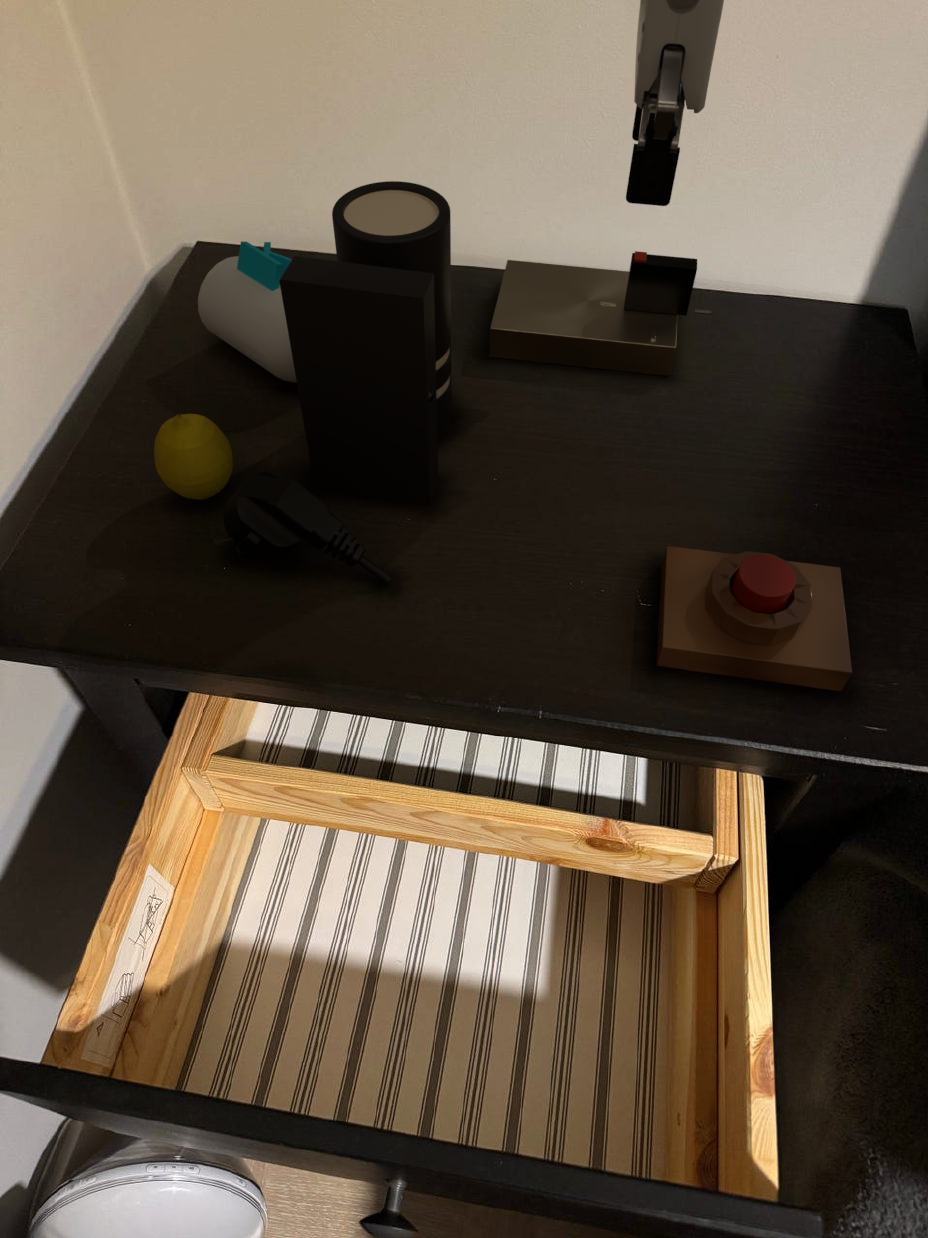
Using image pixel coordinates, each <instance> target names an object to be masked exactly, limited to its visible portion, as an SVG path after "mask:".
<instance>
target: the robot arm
mask: <svg viewBox="0 0 928 1238" xmlns="http://www.w3.org/2000/svg"><path fill="white" fill-rule="evenodd" d="M724 2H725V0H640V1H639V10H638V22H637V30H636V31H637V32H636V44H635V46H636V47H635V49H636V50H635V64H634V65H635V67H634V68H635V69H634V99H633V100H634V104H635V105H636V106H635V113H634V119H633V127H632V134H631V135H632V136H631V138H632V140H633V141H634V142H637V143H633V147H632V155H631V159H630V168H629V174H628V180H627V186H626V193H625V201H626V202H627V203H628V204H636V205H646V206H659V207H667V206H668V205H669V204H671V198H672V193H673V189H674V183H675V177H676V172H677V168H678V162H679V156H680V152H681V147H679V143H680V138H681V137H680V136H681V129H682V123H683V116H684V110H685V107H686V109H687V110H690V111H691V110H692V111H693V114H699V113H700V112H701V111H702V110H703V109H704V108H705V106H706V101H707V94H708V88H709V82H710V77H711V72H712V66H713V61H714V55H715V50H716V45H717V40H718V34H719V30H720V25H721V19H722V14H723V9H724V5H725V4H724Z"/></svg>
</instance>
